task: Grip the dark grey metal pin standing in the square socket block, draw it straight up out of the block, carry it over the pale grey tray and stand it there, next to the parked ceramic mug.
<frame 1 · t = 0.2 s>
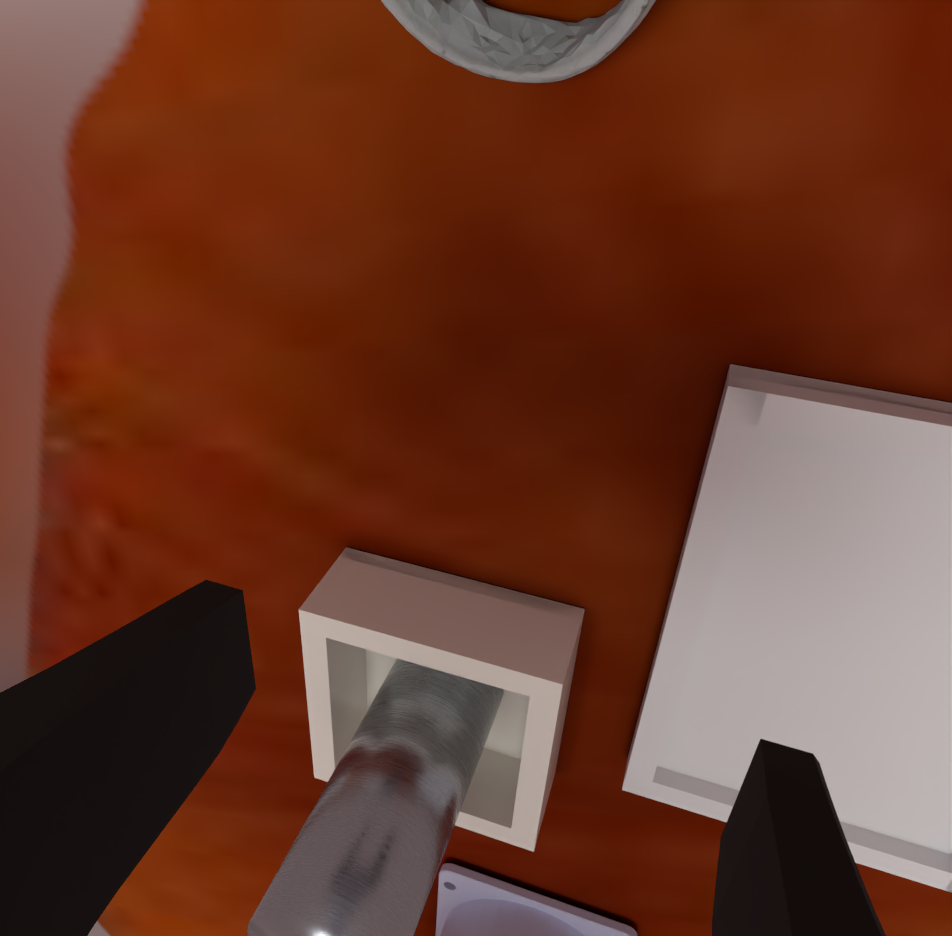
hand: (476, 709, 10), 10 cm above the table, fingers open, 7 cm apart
tray: (863, 645, 20), on the table
square socket block: (455, 665, 25), on the table
steel pin: (450, 676, 24), resting on square socket block
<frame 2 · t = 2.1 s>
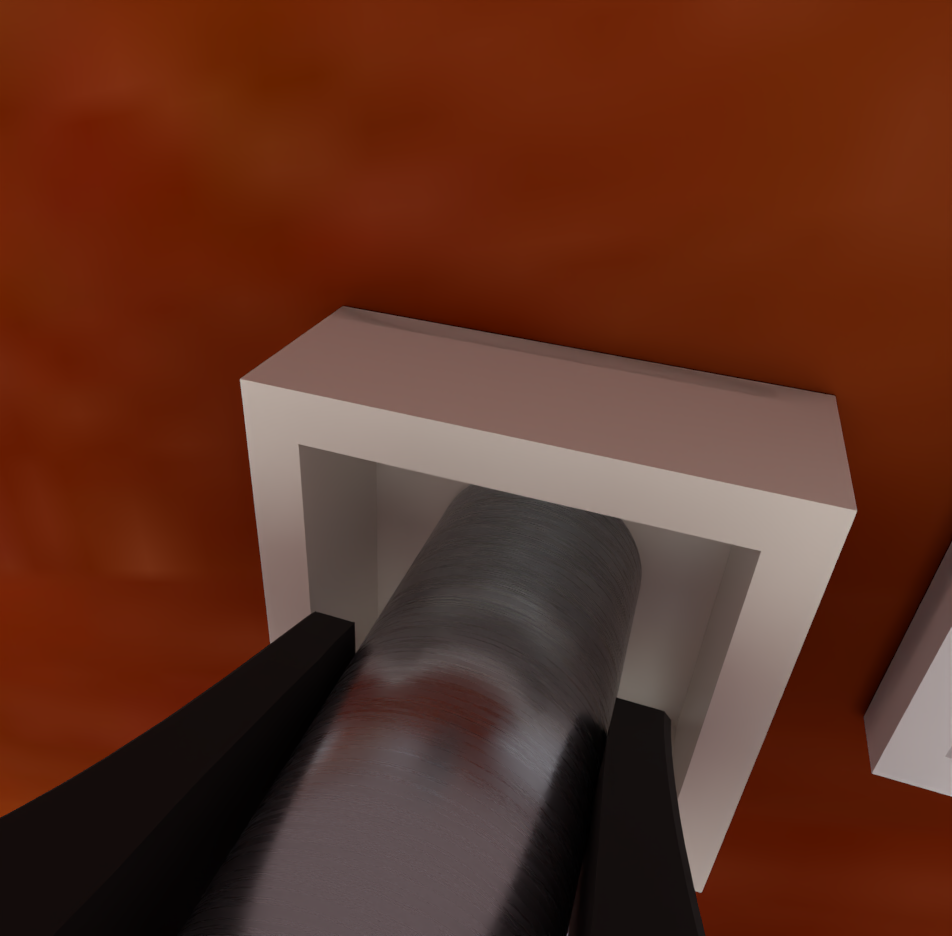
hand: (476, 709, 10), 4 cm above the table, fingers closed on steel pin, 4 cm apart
square socket block: (543, 544, 14), on the table
steel pin: (536, 561, 13), resting on square socket block, touching gripper
when the fingers open (4 cm above the table, at t = 5.1 s): steel pin stays where it is, resting on tray.
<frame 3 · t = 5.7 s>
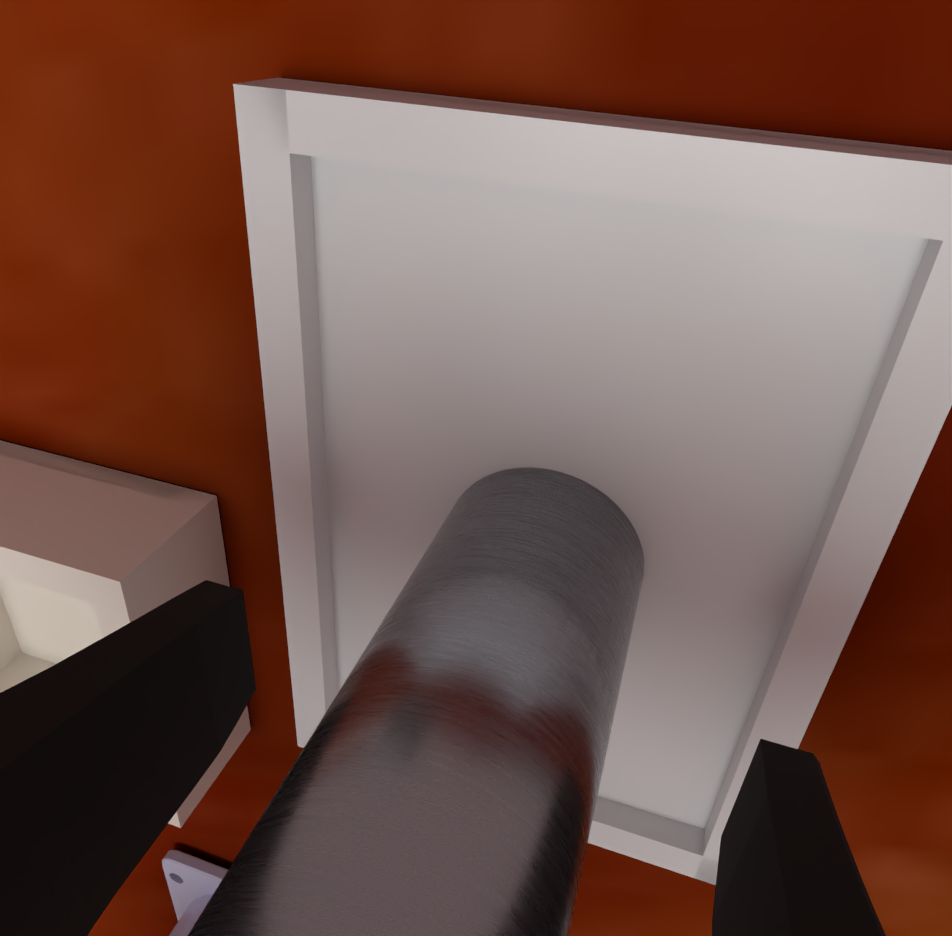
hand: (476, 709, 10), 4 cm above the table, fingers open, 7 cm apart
tray: (549, 529, 14), on the table
square socket block: (103, 586, 19), on the table
steel pin: (541, 555, 14), point 1 cm above the table, touching tray
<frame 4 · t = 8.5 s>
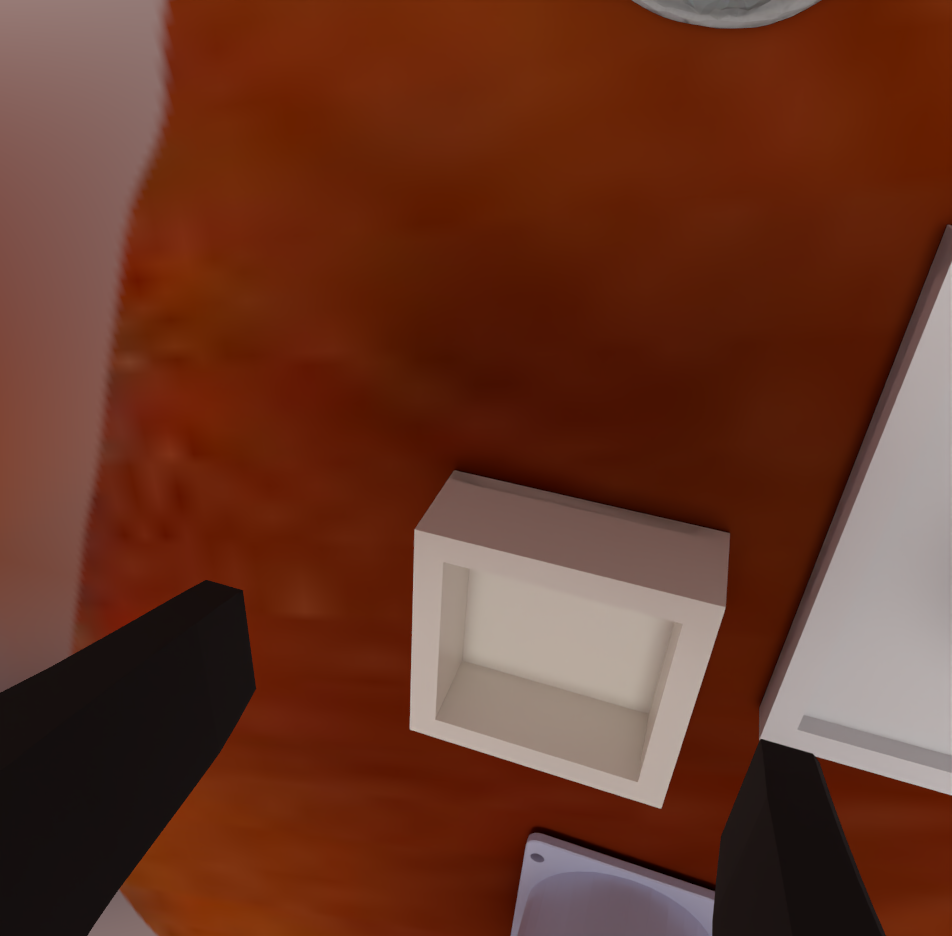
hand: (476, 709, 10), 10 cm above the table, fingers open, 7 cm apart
square socket block: (568, 604, 23), on the table
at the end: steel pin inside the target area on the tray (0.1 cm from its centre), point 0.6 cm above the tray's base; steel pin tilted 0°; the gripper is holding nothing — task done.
